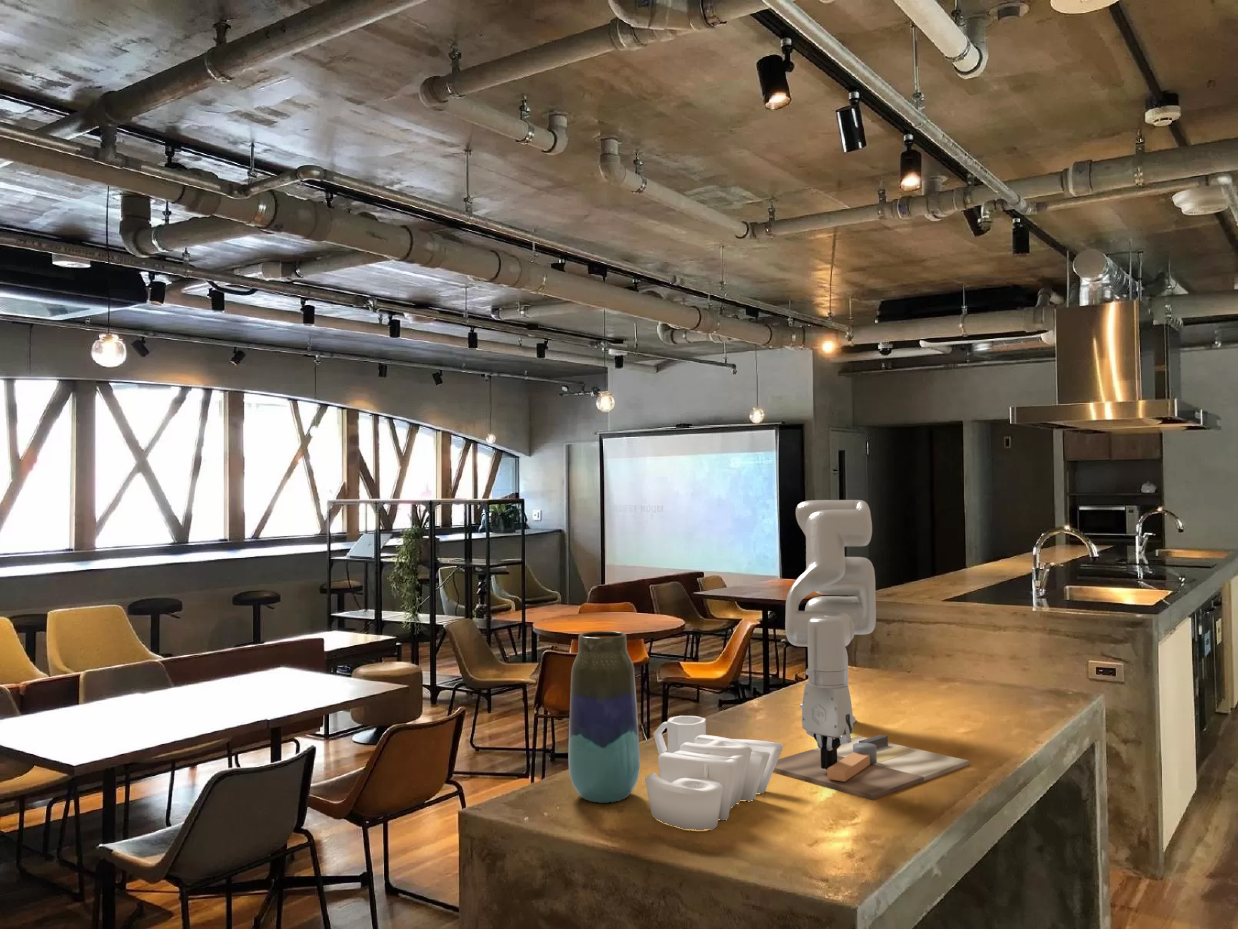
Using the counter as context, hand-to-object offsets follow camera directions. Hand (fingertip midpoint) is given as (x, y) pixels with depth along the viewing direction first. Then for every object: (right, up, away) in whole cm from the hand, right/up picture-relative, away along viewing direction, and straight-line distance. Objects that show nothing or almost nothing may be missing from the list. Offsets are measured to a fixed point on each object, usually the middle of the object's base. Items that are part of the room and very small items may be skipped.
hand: (829, 767), depth 193 cm
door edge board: (+9, -2, +7) cm, 12 cm away
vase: (-46, -3, -10) cm, 47 cm away
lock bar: (+5, -1, +1) cm, 5 cm away
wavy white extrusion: (-25, -2, -17) cm, 30 cm away
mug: (-30, -3, +10) cm, 32 cm away
